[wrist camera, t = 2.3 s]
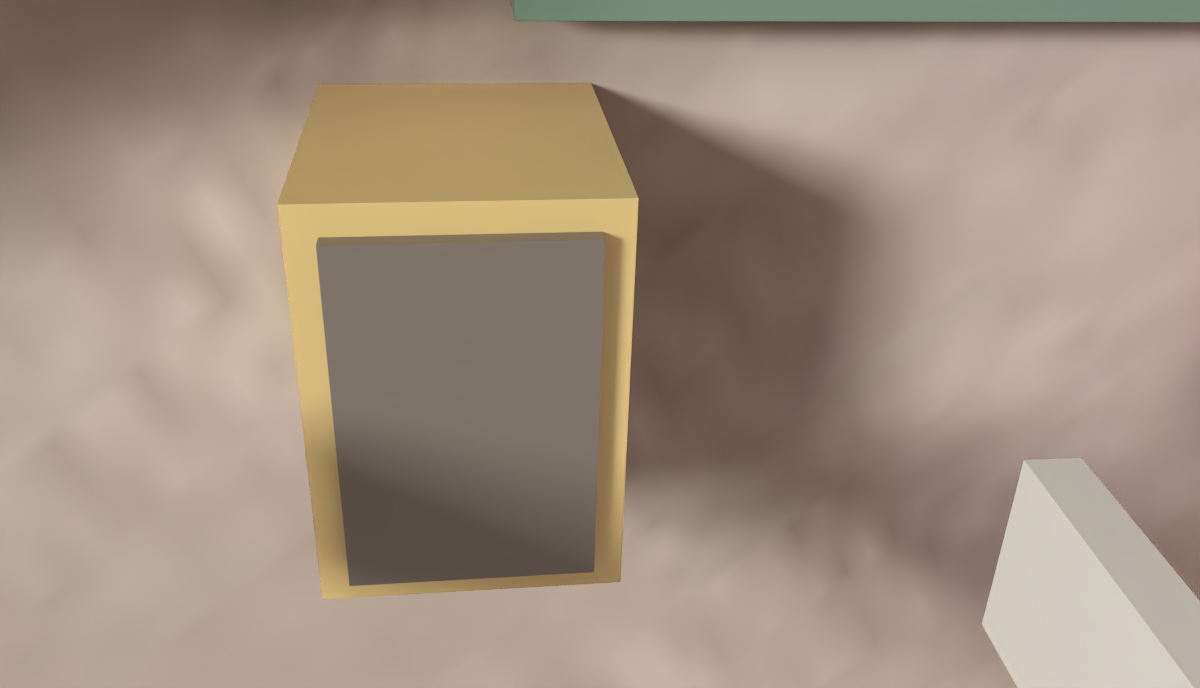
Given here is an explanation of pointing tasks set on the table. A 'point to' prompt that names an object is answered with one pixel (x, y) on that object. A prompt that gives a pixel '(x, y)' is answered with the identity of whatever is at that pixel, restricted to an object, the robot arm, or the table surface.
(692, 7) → the board
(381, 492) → the plug block
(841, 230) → the table surface
